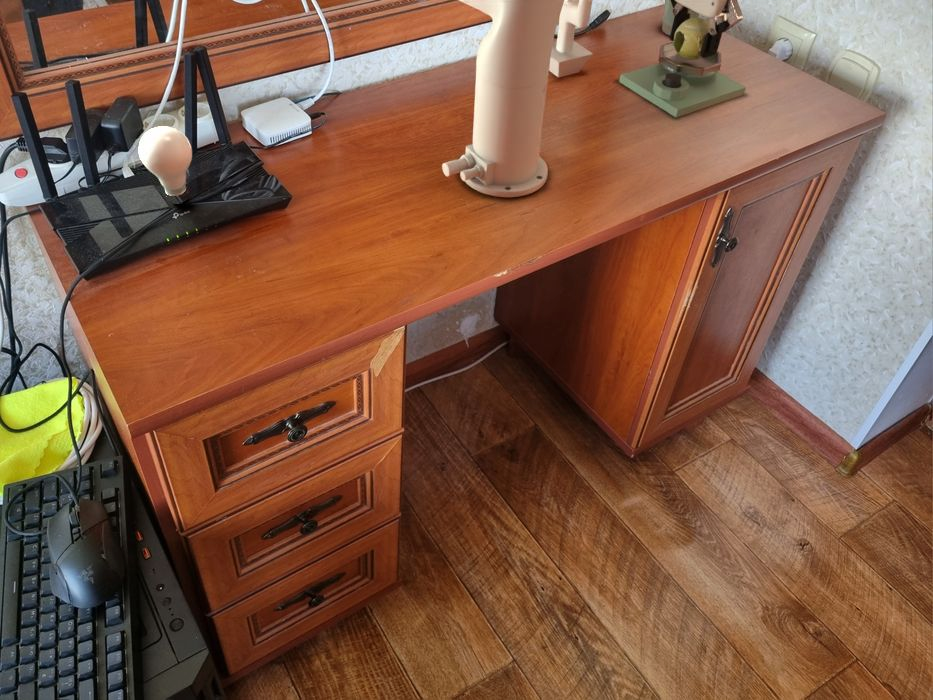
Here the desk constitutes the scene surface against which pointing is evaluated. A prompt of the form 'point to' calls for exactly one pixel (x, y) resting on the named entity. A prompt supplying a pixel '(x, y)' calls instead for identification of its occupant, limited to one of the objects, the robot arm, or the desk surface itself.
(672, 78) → the button
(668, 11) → the coffee cup
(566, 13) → the figurine
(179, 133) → the lightbulb
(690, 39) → the tennis ball
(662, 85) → the scale
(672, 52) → the pan
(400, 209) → the desk surface
